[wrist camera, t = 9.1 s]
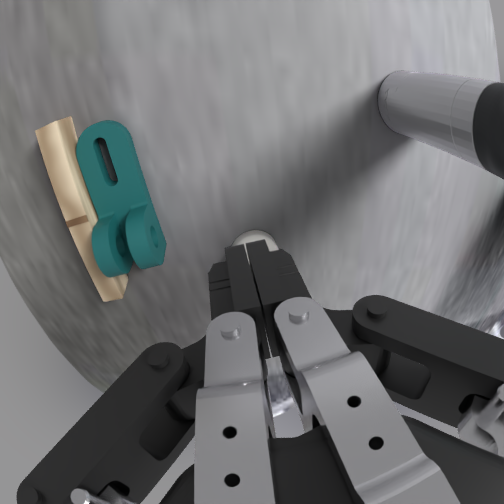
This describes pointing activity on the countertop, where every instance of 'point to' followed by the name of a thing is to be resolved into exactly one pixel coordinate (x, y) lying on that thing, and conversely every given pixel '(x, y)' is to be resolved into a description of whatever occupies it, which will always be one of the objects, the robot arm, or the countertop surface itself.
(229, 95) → the countertop surface
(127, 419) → the robot arm
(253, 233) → the rounded smooth part
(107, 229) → the bracket
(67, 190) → the batten
